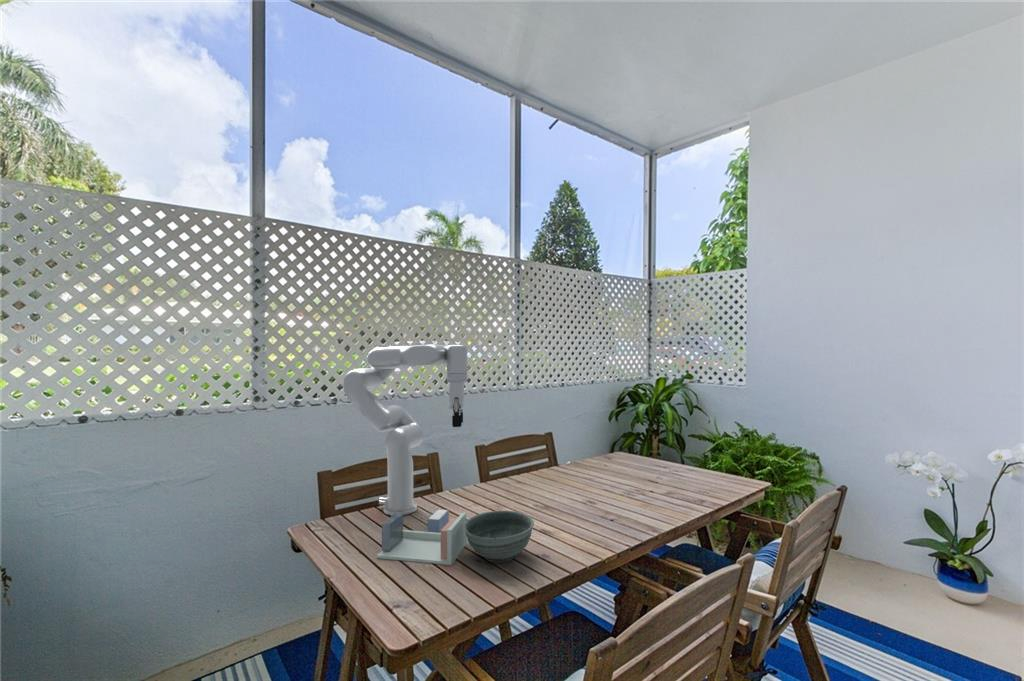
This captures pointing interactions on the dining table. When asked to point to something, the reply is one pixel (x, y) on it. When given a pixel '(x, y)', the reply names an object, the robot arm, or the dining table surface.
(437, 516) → the book
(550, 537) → the dining table surface
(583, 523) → the dining table surface
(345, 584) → the dining table surface
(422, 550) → the mint u-shaped tray
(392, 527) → the bookend
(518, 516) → the bowl
